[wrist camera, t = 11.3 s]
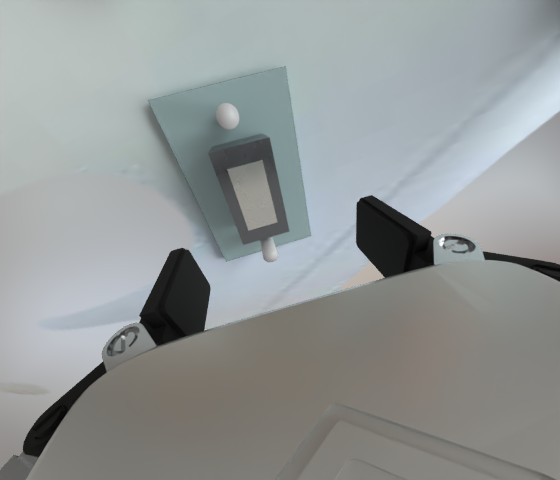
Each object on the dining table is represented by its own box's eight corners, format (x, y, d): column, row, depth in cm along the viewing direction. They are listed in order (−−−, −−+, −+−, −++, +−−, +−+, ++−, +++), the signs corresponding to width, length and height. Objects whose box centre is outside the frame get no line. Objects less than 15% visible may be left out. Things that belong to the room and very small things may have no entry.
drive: (262, 133, 19) (269, 137, 16) (280, 214, 24) (289, 231, 21) (212, 146, 19) (207, 153, 15) (241, 225, 24) (243, 245, 20)
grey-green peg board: (283, 68, 18) (303, 49, 13) (308, 232, 28) (325, 257, 23) (152, 101, 17) (119, 94, 12) (226, 257, 27) (225, 288, 22)
